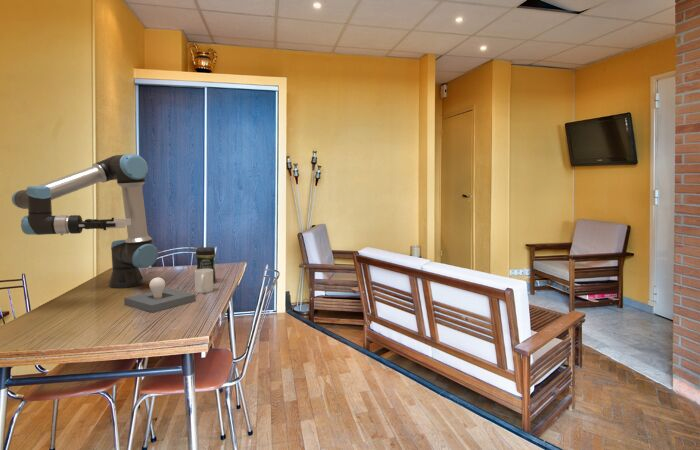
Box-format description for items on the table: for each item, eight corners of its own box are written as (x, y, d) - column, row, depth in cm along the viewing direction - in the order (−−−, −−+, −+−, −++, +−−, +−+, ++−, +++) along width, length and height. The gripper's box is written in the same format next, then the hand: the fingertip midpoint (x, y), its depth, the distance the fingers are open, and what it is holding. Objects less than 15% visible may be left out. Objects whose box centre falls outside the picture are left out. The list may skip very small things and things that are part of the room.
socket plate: (124, 304, 170) (124, 297, 170) (168, 294, 187) (167, 288, 187) (152, 312, 160) (151, 305, 159) (195, 301, 176) (195, 294, 176)
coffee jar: (195, 284, 206) (194, 248, 204) (197, 281, 214) (196, 246, 212) (215, 284, 208) (214, 248, 206) (216, 280, 216) (215, 246, 214)
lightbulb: (154, 301, 174) (153, 276, 173) (168, 301, 174) (167, 276, 173) (147, 305, 167) (146, 278, 167) (161, 305, 167) (160, 278, 167)
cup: (214, 288, 199) (213, 268, 198) (212, 294, 187) (211, 273, 186) (196, 289, 197) (195, 268, 196) (192, 295, 185) (192, 274, 184)
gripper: (78, 230, 178) (133, 229, 185) (59, 237, 154) (122, 235, 161) (77, 213, 177) (132, 212, 184) (58, 217, 154) (121, 216, 161)
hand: (128, 223), depth 173 cm, fingers open, 13 cm apart
